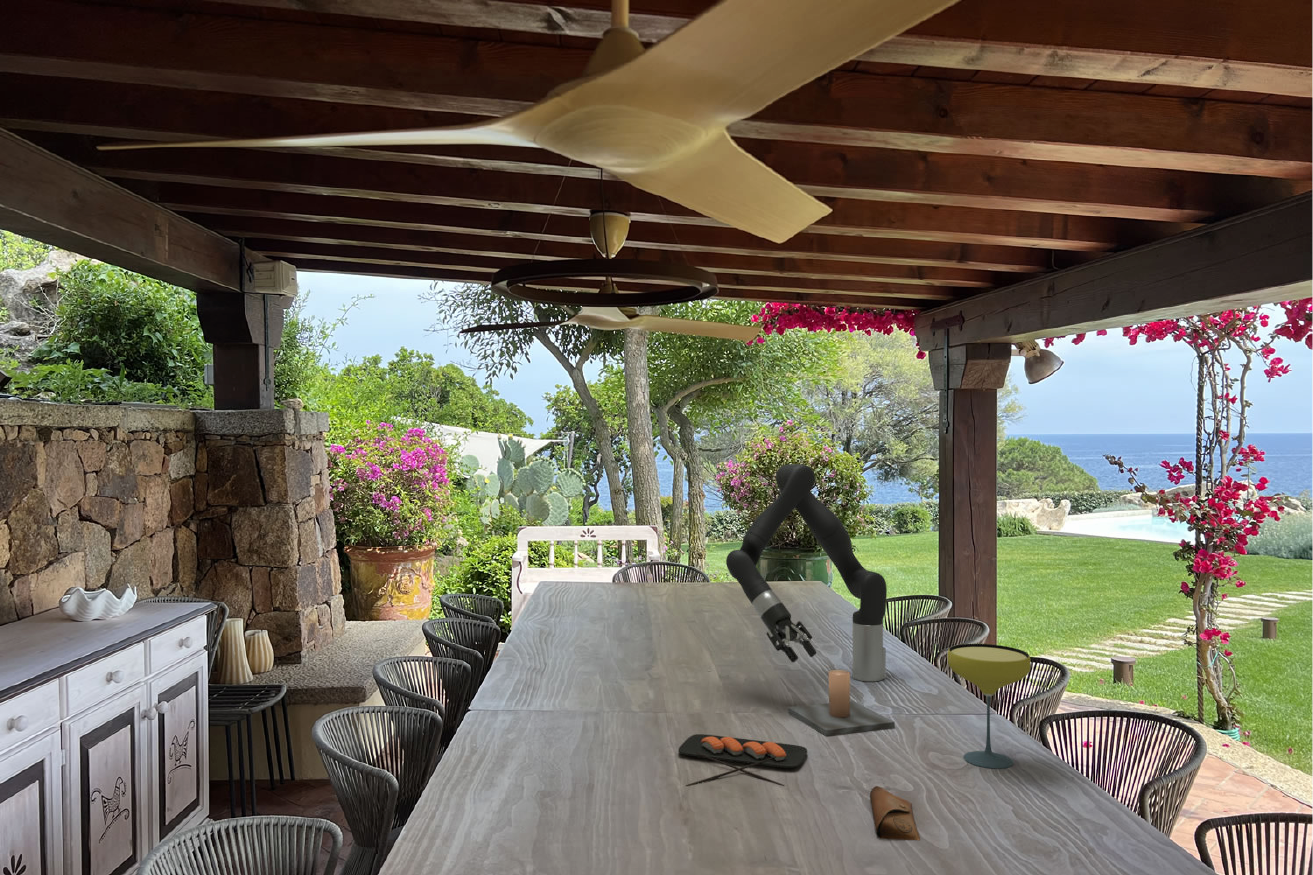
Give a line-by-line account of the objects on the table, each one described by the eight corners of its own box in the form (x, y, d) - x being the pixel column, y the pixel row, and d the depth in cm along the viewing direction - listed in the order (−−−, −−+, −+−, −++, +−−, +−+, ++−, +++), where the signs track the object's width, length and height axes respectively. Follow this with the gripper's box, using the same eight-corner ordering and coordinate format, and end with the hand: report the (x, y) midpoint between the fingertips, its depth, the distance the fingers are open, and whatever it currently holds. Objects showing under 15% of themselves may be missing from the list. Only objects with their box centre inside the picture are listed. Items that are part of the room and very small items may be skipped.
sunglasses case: (923, 841, 165) (904, 808, 166) (890, 858, 166) (871, 825, 167) (911, 802, 183) (894, 773, 184) (881, 817, 184) (864, 788, 184)
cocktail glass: (1022, 780, 195) (1022, 665, 195) (938, 764, 204) (938, 654, 204) (1036, 755, 210) (1036, 649, 210) (957, 741, 220) (957, 640, 220)
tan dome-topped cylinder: (843, 709, 240) (843, 669, 240) (854, 716, 235) (853, 674, 235) (825, 711, 239) (825, 670, 239) (835, 718, 233) (834, 676, 233)
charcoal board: (852, 705, 249) (852, 700, 249) (894, 727, 230) (894, 721, 230) (788, 712, 243) (788, 707, 243) (826, 736, 224) (826, 730, 224)
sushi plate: (809, 754, 212) (810, 738, 212) (784, 802, 184) (784, 784, 184) (692, 740, 222) (693, 724, 222) (651, 783, 194) (651, 766, 194)
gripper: (763, 605, 246) (797, 654, 238) (794, 598, 256) (828, 645, 248) (748, 621, 249) (781, 670, 241) (779, 614, 260) (812, 661, 251)
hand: (804, 657), depth 245 cm, fingers open, 8 cm apart
